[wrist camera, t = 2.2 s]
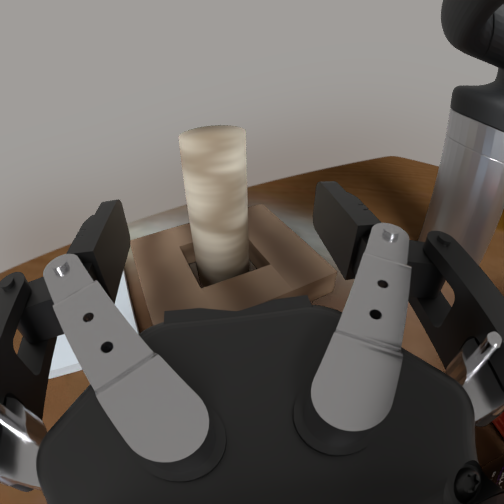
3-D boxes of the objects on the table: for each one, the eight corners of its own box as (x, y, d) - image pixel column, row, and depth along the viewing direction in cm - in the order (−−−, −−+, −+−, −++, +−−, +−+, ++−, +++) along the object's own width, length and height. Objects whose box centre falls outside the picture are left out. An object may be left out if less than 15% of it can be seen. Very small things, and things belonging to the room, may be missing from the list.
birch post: (236, 253, 32) (229, 122, 23) (258, 282, 28) (257, 134, 19) (192, 267, 30) (172, 132, 21) (209, 299, 26) (188, 146, 18)
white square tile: (124, 270, 29) (122, 263, 29) (144, 350, 22) (140, 343, 21) (39, 299, 26) (35, 292, 25) (36, 382, 18) (30, 376, 17)
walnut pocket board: (261, 221, 37) (261, 203, 35) (332, 291, 27) (337, 271, 25) (135, 259, 31) (129, 240, 29) (166, 359, 21) (158, 340, 20)
